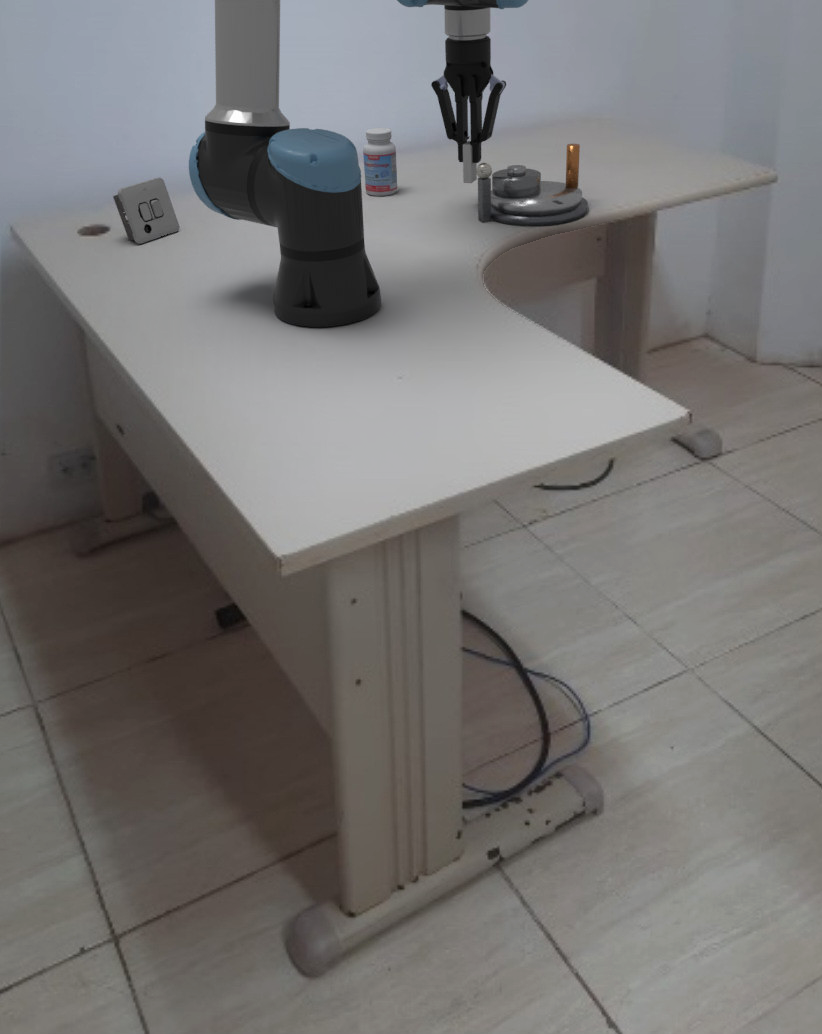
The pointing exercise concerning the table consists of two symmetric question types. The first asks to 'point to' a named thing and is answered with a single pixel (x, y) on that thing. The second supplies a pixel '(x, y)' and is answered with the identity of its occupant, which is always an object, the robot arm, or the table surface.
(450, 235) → the table surface
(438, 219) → the table surface
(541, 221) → the turntable base
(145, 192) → the electrical switch
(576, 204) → the platter
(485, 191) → the post
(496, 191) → the cover
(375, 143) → the pill bottle
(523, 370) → the table surface
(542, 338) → the table surface
